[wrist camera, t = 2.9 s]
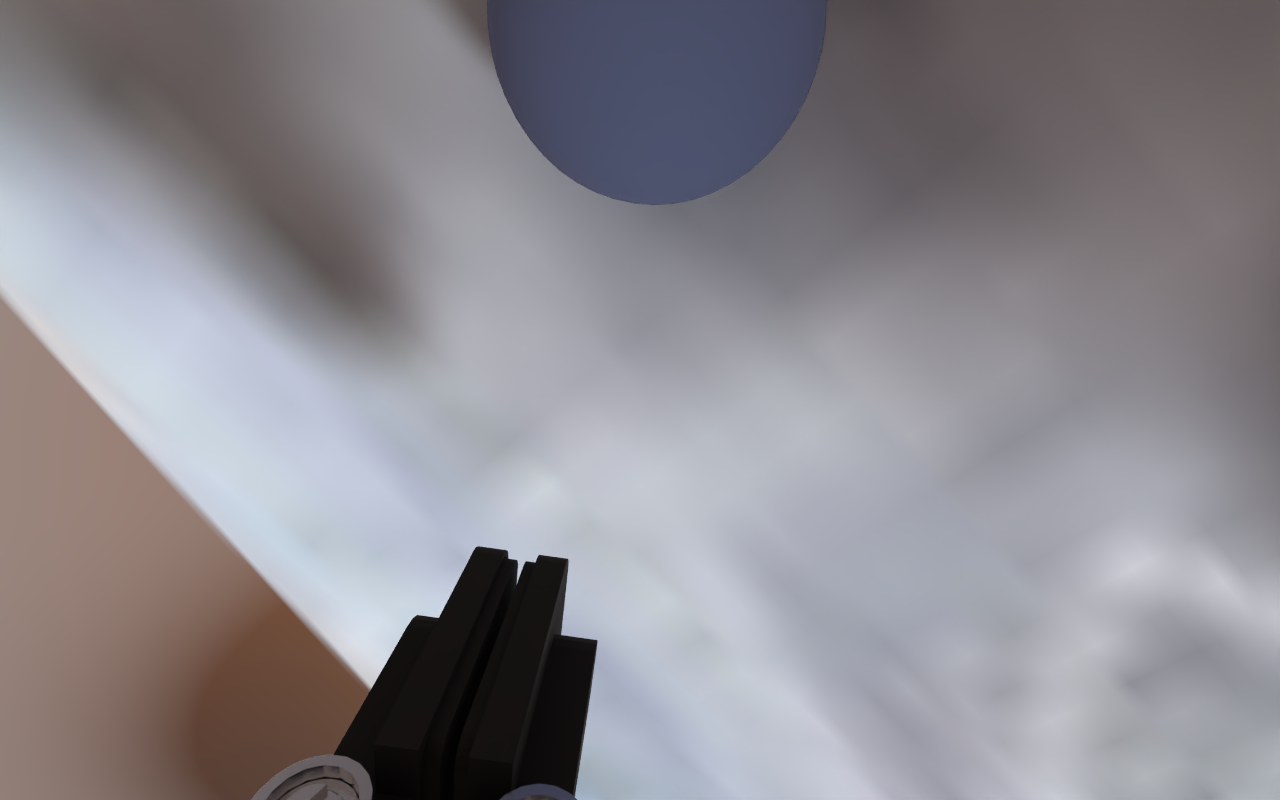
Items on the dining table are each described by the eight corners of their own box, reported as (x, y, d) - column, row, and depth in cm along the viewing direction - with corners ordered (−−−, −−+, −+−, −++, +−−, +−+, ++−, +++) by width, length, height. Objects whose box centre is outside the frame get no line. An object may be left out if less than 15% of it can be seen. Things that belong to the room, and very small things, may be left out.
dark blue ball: (825, -82, 11) (930, -284, 6) (766, 214, 14) (809, 240, 8) (544, -117, 12) (428, -342, 7) (527, 180, 14) (428, 185, 9)
